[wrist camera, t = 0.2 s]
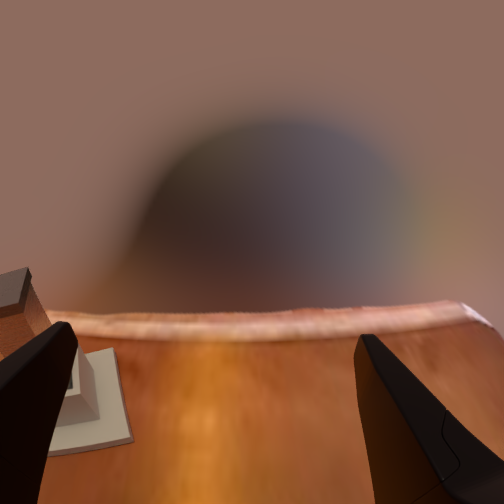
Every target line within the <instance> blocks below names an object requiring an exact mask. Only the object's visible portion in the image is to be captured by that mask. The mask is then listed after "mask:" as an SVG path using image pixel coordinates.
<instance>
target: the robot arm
mask: <svg viewBox="0 0 504 504" xmlns="http://www.w3.org/2000/svg"><path fill="white" fill-rule="evenodd" d="M77 349H78V340H77V338H76V335H75V333H74V331H73V329H72V327H71V325H70V324H69V323H68V322H62V321H58V322H56V323H55V324H53V325H52V326H50V327H49V328H47V329H46V330H44V331H43V332H41V333H40V334H39V335H37V336H36V337H34V338H33V339H31V340H30V341H28V342H27V343H26V344H24V345H23V346H21V347H20V348H18V349H17V350H16V351H14V352H13V353H11V354H10V355H9V356H7V357H6V358H4V359H3V360H2V361H0V504H37V502H38V496H39V491H40V485H41V481H42V477H43V472H44V468H45V464H46V460H47V456H48V452H49V448H50V444H51V441H52V437H53V433H54V430H55V427H56V423H57V420H58V416H59V413H60V410H61V407H62V404H63V400H64V397H65V394H66V391H67V388H68V385H69V381H70V377H71V373H72V369H73V364H74V360H75V356H76V353H77ZM354 368H355V378H356V389H357V400H358V408H359V413H360V418H361V423H362V428H363V433H364V438H365V444H366V449H367V455H368V460H369V466H370V472H371V478H372V484H373V491H374V497H375V504H504V461H503V460H502V459H501V458H499V457H498V456H497V455H496V454H495V453H494V452H492V451H491V450H490V449H489V448H488V447H487V446H485V445H484V444H483V443H482V442H481V441H480V440H478V439H477V438H476V437H475V436H474V435H473V434H472V433H471V432H470V431H468V430H467V429H466V428H465V427H464V426H463V425H462V424H461V423H460V422H459V421H458V420H457V419H456V418H455V417H454V416H453V415H452V414H451V412H450V411H449V410H446V407H445V406H444V405H443V404H442V403H441V402H440V401H439V400H438V399H437V398H436V397H435V396H434V395H433V394H432V393H431V392H430V391H429V390H428V389H427V387H426V386H425V385H424V384H423V383H422V382H421V381H420V380H419V379H418V378H417V377H416V376H415V375H414V374H413V373H412V372H411V371H410V370H409V369H408V368H407V367H406V366H405V365H404V364H403V363H402V362H401V361H400V360H399V359H398V358H397V357H396V356H395V355H394V354H393V353H392V352H391V351H390V350H389V349H388V348H387V347H386V346H385V345H384V344H383V343H382V342H381V340H380V339H379V338H378V337H377V336H375V335H374V334H362V335H360V336H359V338H358V342H357V345H356V349H355V352H354Z"/></svg>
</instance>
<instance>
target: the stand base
mask: <svg viewBox="0 0 504 504" xmlns="http://www.w3.org/2000/svg"><path fill="white" fill-rule="evenodd" d="M72 379H73V389H69V390H67V391H66V394H65V397H64V400H63V404H62V407H61V410H60V413H59V416H58V420H57V423H56V427H55V430H54V433H53V437H52V441H51V444H50V448H49V452H48V456H47V457H49V456H58V455H65V454H72V453H79V452H85V451H91V450H96V449H102V448H107V447H112V446H117V445H122V444H126V443H131V442H134V440H133V436H132V432H131V428H130V424H129V419H128V415H127V410H126V406H125V401H124V396H123V391H122V386H121V381H120V375H119V370H118V364H117V358H116V353H115V351H114V349H113V348H109V349H105V350H101V351H96V352H92V353H88V354H84V352H83V350H82V349H81V347H80V345H79V343H78V349H77V353H76V356H75V360H74V364H73V369H72Z"/></svg>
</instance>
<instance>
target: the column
mask: <svg viewBox="0 0 504 504" xmlns="http://www.w3.org/2000/svg"><path fill="white" fill-rule="evenodd" d="M31 278H32V275H31V273H30V271H29V268H28V267H25V268H22V269H18V270H15V271H11V272H8V273H5V274H1V275H0V352H1V354H2V355H3V356H4V358H6V357H7V356H9V355H10V354H11V353H13V352H14V351H16V350H17V349H18V348H20V347H21V346H23V345H24V344H26V343H27V342H28V341H30V340H31V339H33V338H34V337H36V336H37V335H39V334H40V333H41V332H43V331H44V330H46V329H47V328H49V327H50V326H52V324H51V322H50V320H49V318H48V317H47V315H46V313H45V311H44V309H43V307H42V305H41V303H40V301H39V299H38V296H37V294H36V292H35V290H34V288H33V286H32V284H31ZM69 389H73V379H72V373H71V377H70V381H69V385H68V388H67V390H69Z"/></svg>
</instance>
